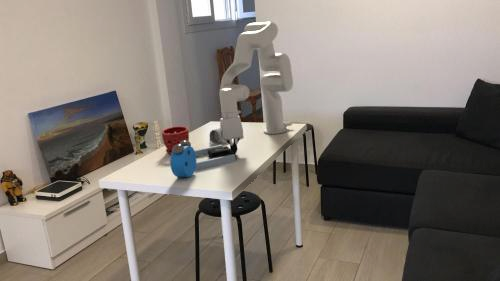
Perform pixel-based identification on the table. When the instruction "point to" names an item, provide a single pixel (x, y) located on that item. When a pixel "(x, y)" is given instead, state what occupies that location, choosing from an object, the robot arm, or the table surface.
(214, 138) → the ceramic mug
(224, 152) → the battery charger
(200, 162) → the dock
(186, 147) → the alarm clock
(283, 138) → the table surface
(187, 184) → the table surface
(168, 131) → the plant pot
